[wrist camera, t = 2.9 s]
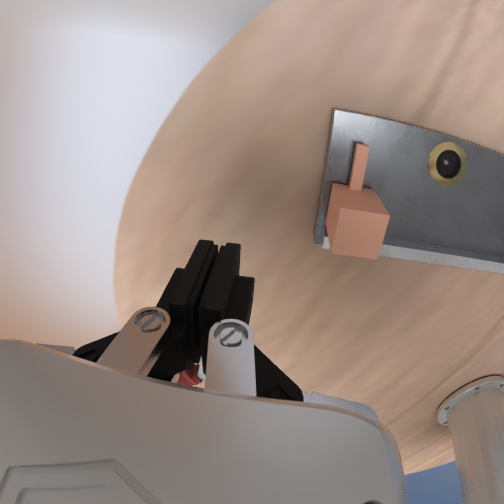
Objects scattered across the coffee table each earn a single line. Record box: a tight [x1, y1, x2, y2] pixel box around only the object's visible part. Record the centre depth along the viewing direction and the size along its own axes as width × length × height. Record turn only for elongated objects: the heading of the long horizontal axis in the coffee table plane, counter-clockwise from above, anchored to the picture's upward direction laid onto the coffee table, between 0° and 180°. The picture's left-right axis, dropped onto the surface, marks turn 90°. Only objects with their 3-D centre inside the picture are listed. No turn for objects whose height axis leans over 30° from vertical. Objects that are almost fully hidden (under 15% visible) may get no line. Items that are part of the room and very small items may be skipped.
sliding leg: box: [326, 143, 390, 260], centre depth 19 cm, size 3×6×4 cm, turn 176°
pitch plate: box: [314, 108, 504, 274], centre depth 19 cm, size 24×10×6 cm, turn 86°
